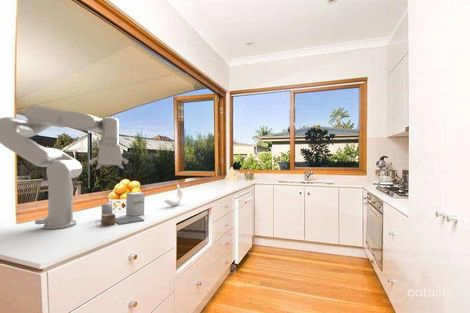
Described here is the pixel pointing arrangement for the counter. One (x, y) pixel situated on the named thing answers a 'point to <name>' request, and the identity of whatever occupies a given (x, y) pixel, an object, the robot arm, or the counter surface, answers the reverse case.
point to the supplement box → (135, 204)
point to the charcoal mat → (128, 219)
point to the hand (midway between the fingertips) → (109, 177)
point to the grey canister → (106, 208)
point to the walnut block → (108, 219)
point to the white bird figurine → (177, 199)
